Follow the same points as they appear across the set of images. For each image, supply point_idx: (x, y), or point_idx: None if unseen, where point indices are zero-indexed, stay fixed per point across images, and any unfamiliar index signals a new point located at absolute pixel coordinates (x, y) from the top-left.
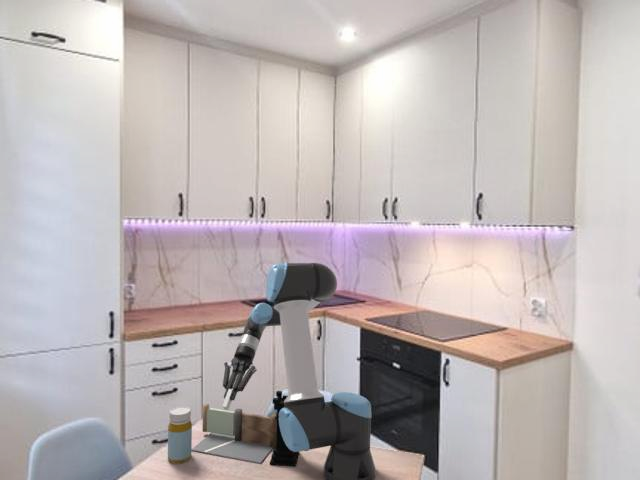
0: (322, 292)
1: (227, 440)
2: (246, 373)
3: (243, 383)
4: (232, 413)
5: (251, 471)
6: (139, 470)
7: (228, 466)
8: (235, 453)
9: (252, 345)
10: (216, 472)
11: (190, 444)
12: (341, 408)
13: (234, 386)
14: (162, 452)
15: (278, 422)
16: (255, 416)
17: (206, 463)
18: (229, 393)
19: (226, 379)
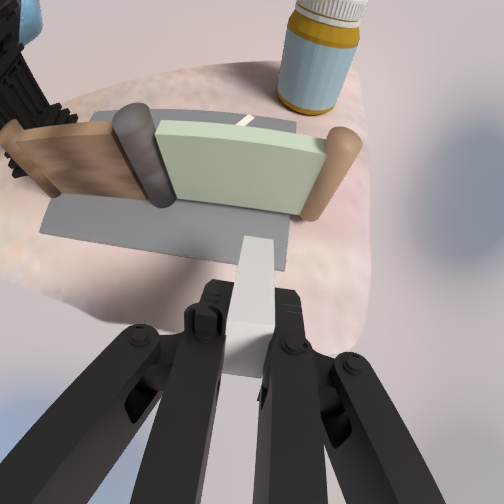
0: None
1: None
2: (35, 491)
3: (88, 367)
4: (167, 122)
5: (117, 89)
6: (353, 72)
7: (169, 88)
8: (158, 123)
9: None
10: (192, 71)
11: (281, 64)
12: None
13: (209, 351)
14: (362, 119)
15: (19, 62)
16: (64, 124)
17: (227, 88)
18: (247, 291)
19: (364, 426)
